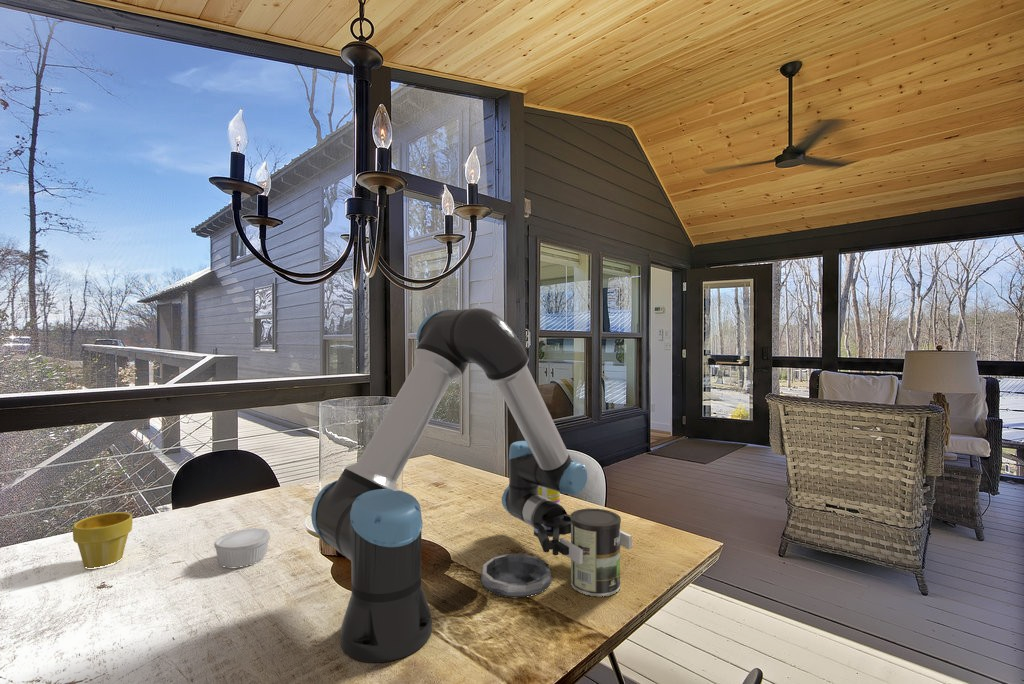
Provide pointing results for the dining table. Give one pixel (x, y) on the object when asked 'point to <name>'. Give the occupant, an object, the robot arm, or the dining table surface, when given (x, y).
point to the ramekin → (242, 547)
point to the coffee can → (596, 552)
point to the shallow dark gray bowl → (516, 575)
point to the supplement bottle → (549, 494)
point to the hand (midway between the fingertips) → (606, 549)
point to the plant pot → (102, 538)
